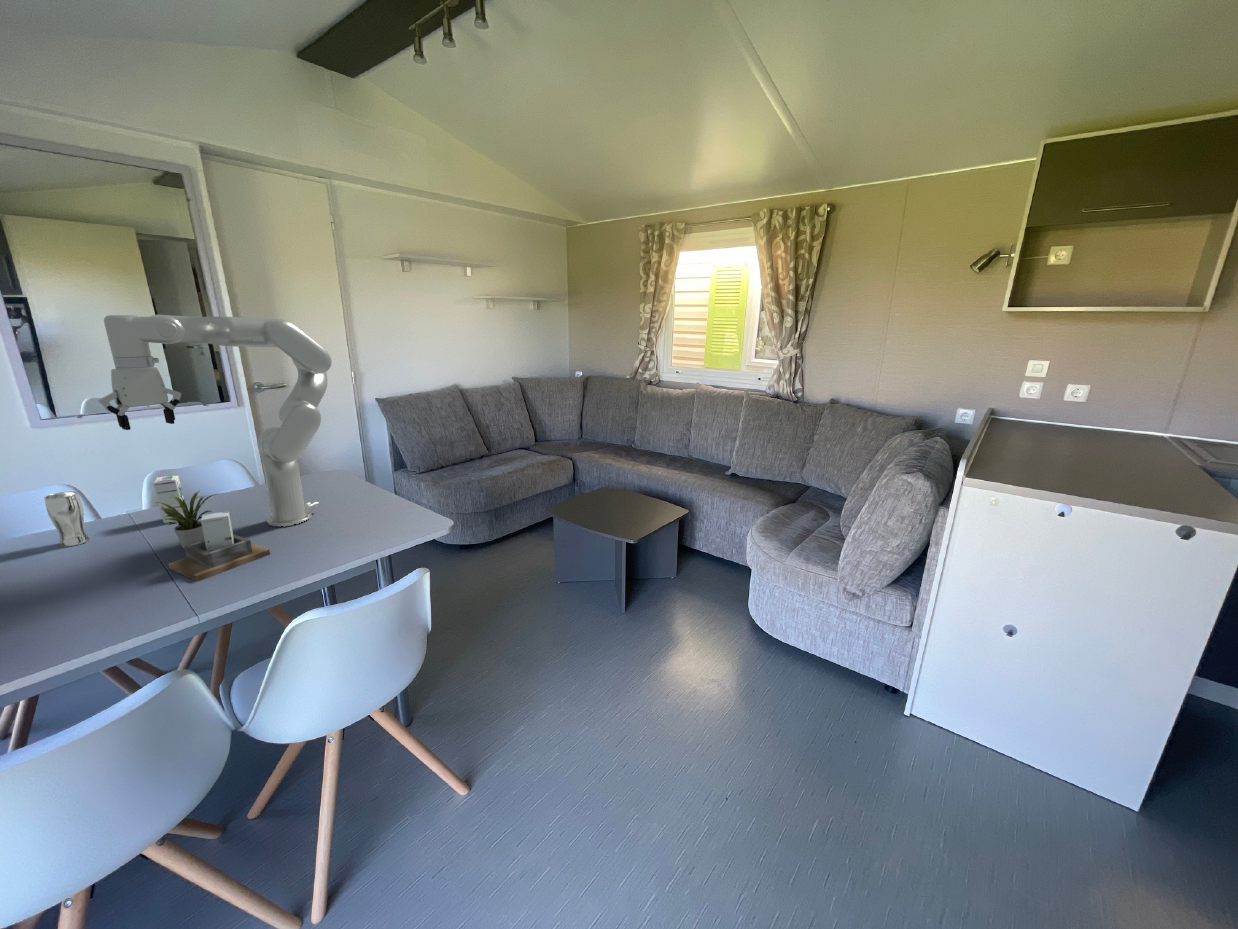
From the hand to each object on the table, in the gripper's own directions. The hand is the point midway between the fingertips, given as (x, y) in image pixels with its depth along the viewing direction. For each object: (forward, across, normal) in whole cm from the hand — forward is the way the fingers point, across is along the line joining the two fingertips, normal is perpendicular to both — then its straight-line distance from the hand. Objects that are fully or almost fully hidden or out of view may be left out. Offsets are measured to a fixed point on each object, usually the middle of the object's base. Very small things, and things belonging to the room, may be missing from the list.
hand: (149, 426), depth 138 cm
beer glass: (+36, +13, -28) cm, 48 cm away
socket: (+36, -1, +21) cm, 42 cm away
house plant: (+36, -4, +3) cm, 37 cm away
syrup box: (+36, -10, -24) cm, 45 cm away
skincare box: (+35, -2, +21) cm, 41 cm away
